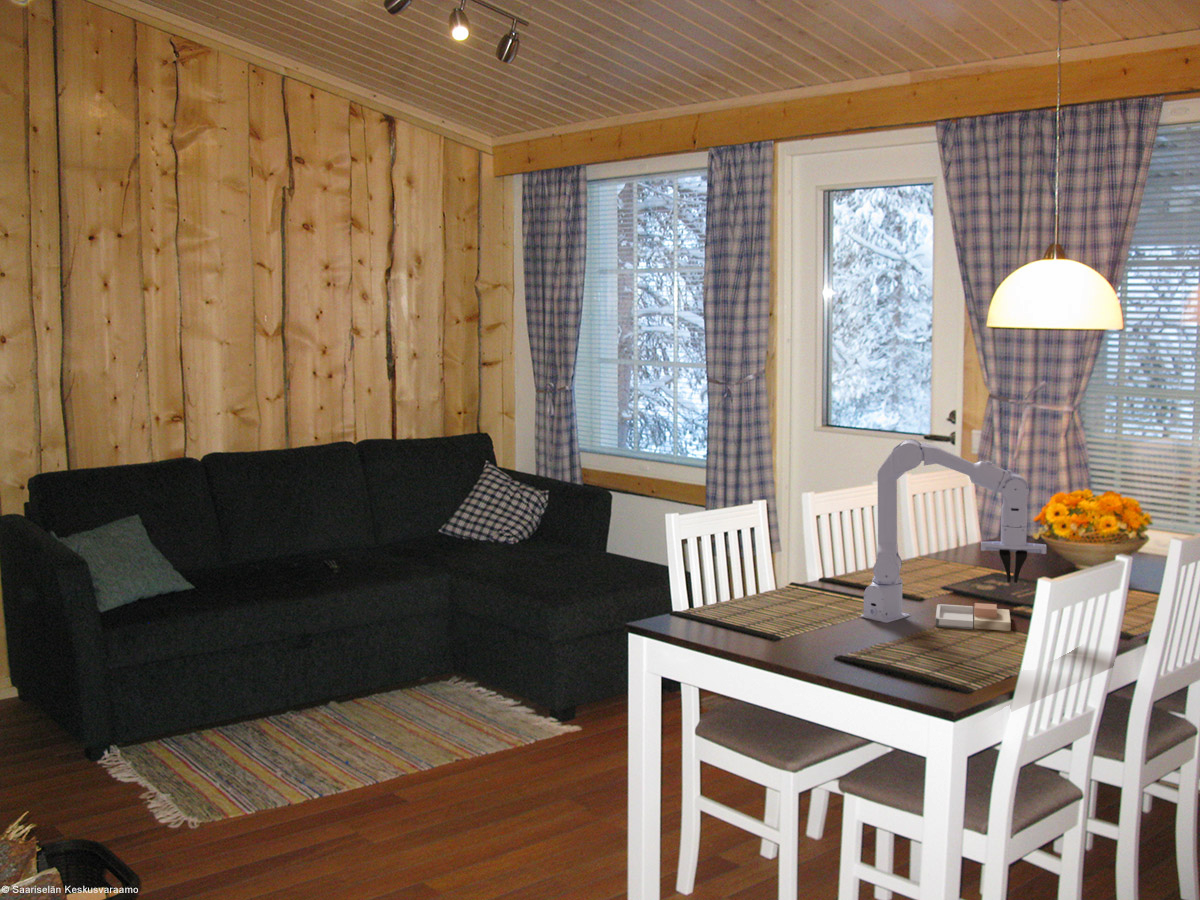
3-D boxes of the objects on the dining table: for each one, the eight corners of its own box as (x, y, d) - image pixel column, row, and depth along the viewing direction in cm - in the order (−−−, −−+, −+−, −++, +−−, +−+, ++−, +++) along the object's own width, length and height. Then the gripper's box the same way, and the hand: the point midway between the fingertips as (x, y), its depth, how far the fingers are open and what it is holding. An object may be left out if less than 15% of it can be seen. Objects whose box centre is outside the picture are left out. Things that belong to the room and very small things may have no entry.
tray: (935, 626, 264) (935, 618, 263) (937, 611, 277) (937, 603, 276) (973, 629, 261) (973, 621, 261) (972, 614, 274) (973, 606, 274)
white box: (974, 628, 262) (974, 620, 261) (974, 615, 273) (974, 607, 273) (1010, 630, 259) (1010, 622, 259) (1008, 617, 270) (1009, 609, 270)
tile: (974, 616, 265) (974, 608, 265) (974, 611, 269) (974, 602, 269) (996, 617, 263) (996, 609, 263) (996, 612, 268) (996, 604, 268)
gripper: (1045, 523, 263) (1043, 579, 265) (981, 521, 268) (979, 576, 270) (1047, 529, 257) (1045, 586, 258) (981, 526, 261) (980, 582, 263)
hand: (1012, 581), depth 264 cm, fingers closed
